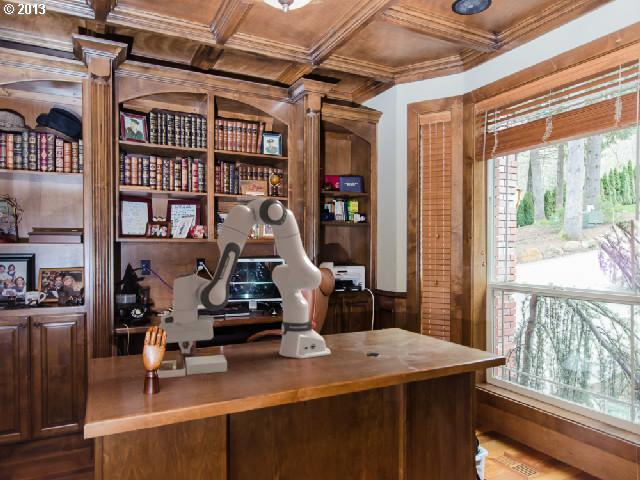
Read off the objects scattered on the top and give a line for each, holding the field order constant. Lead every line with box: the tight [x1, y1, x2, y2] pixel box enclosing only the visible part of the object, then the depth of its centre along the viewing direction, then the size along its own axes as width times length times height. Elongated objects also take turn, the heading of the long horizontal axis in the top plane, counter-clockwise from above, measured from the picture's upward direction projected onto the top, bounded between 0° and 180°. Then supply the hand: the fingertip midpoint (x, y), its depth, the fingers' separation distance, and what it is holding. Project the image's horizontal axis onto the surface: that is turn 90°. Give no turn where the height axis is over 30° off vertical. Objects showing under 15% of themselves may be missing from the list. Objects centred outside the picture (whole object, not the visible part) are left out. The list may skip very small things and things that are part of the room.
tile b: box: [159, 363, 173, 371], centre depth 164 cm, size 5×4×2 cm
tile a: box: [175, 354, 185, 370], centre depth 166 cm, size 5×4×2 cm
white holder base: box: [184, 354, 228, 376], centre depth 169 cm, size 14×11×4 cm
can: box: [179, 341, 197, 364], centre depth 179 cm, size 6×6×14 cm
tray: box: [157, 359, 186, 379], centre depth 165 cm, size 10×14×2 cm
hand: (185, 352), depth 167 cm, fingers closed
